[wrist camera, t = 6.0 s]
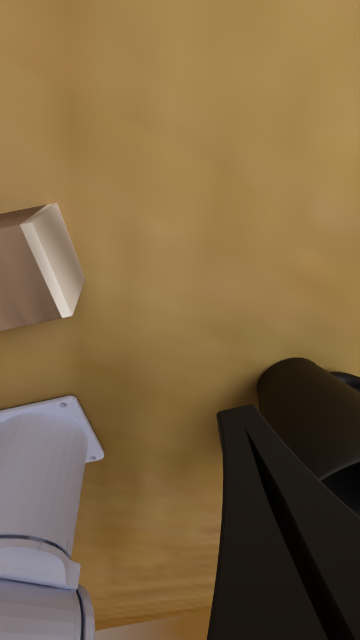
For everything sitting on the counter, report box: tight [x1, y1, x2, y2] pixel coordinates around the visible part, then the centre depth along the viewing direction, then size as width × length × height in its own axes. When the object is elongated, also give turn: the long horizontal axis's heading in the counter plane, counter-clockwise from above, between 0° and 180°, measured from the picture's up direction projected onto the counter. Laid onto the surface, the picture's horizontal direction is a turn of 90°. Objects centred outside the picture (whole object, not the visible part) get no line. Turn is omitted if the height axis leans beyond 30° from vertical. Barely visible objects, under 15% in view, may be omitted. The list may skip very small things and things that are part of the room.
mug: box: [257, 358, 360, 517], centre depth 21 cm, size 8×12×10 cm
